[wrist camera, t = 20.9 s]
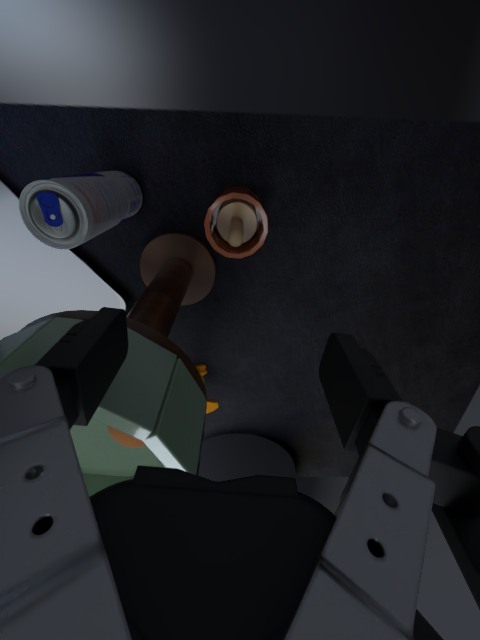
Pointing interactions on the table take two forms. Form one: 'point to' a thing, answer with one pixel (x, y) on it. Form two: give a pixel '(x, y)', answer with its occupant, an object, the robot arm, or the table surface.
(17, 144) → the table surface
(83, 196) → the beverage can
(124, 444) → the ball
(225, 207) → the beige plunger
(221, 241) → the holder
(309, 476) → the table surface
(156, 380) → the green bowl
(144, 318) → the brown pedestal stand
